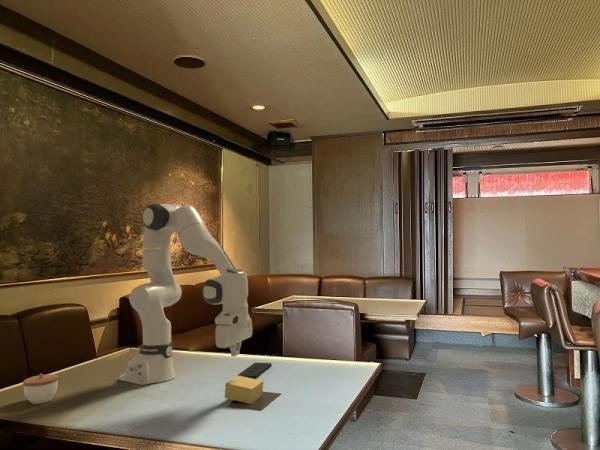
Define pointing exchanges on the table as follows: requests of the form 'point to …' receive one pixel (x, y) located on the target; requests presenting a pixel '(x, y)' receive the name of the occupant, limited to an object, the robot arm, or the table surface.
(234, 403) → the topple stop
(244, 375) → the smart home device
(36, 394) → the lidded jar
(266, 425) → the table surface
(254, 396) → the mustard block
